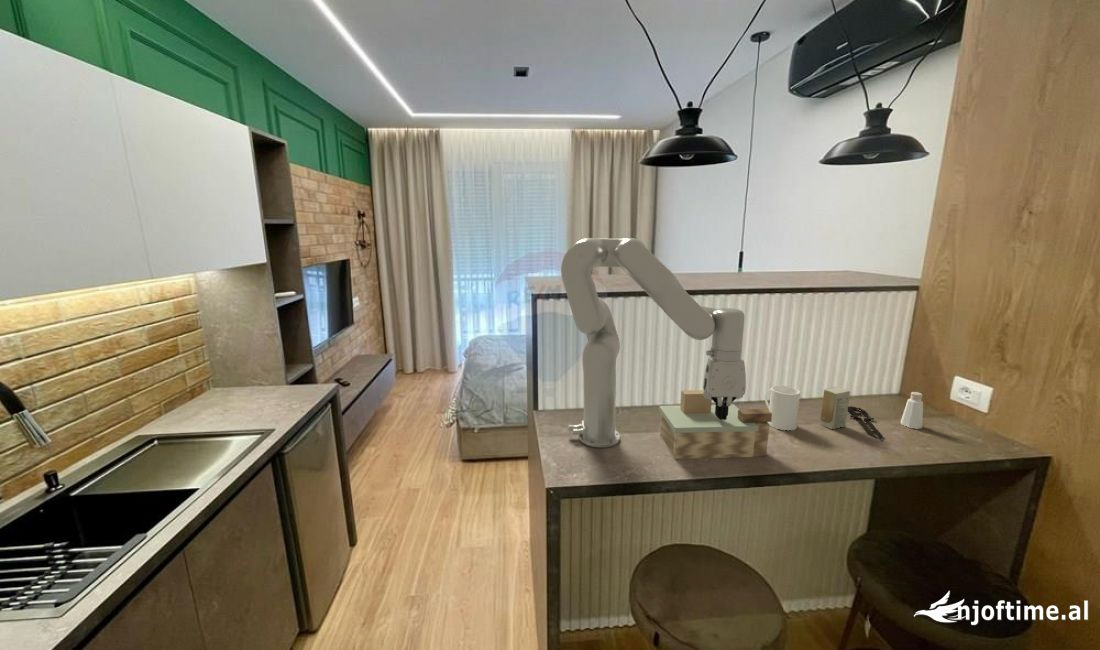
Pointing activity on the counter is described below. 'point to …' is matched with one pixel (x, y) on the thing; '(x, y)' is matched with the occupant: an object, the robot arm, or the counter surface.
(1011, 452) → the counter surface
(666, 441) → the tan wooden open box
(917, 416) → the pepper shaker
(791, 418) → the mug
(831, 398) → the skincare box
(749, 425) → the lid
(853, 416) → the knife
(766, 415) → the rectangular brown block
